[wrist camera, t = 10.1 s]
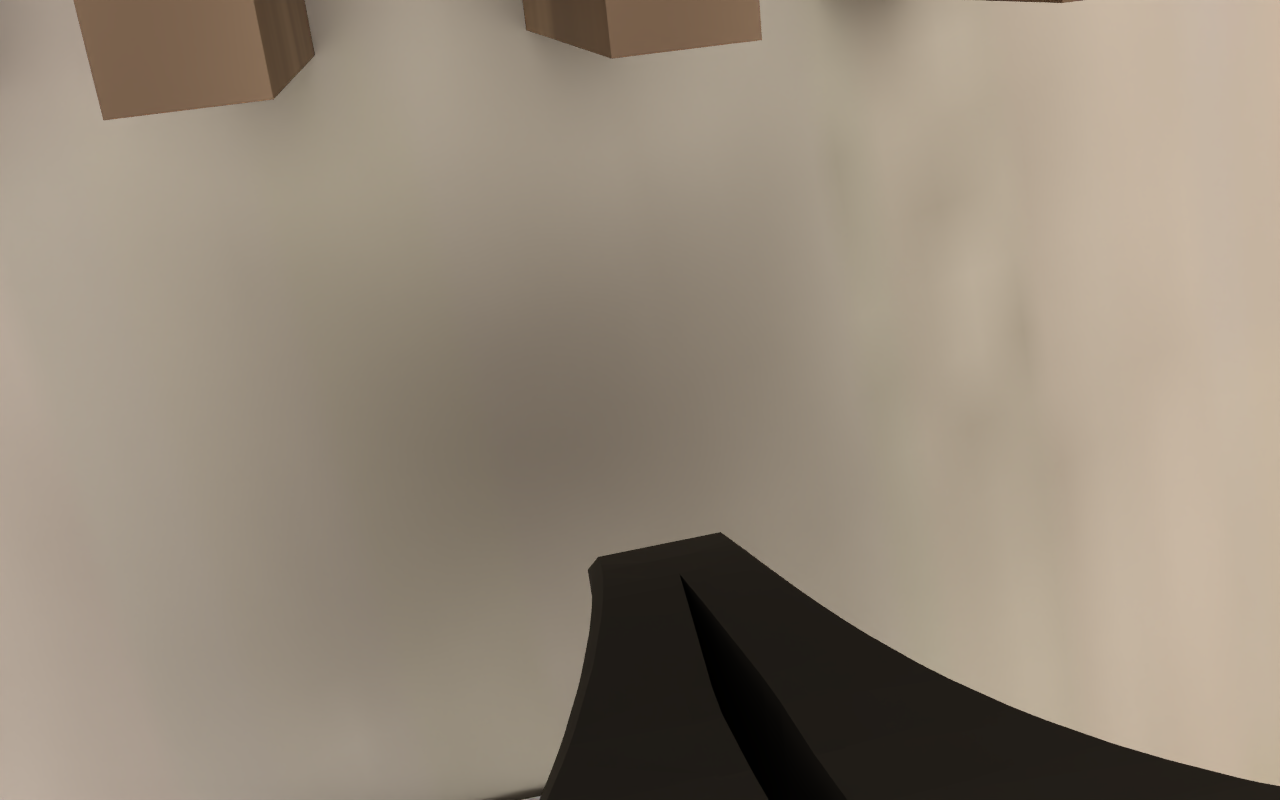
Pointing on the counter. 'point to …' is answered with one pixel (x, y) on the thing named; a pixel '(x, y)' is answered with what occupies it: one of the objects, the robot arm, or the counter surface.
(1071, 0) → the walnut domino
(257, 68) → the walnut domino
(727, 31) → the walnut domino
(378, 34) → the counter surface
